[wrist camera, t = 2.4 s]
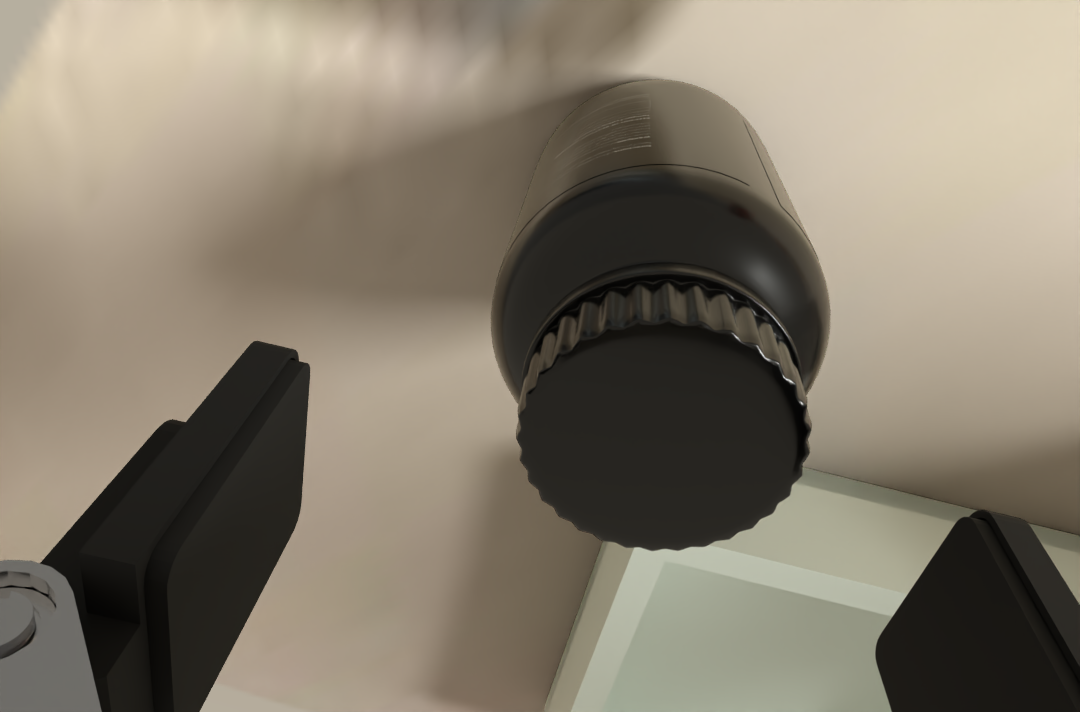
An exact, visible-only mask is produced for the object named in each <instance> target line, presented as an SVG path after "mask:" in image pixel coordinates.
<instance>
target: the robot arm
mask: <svg viewBox="0 0 1080 712" xmlns="http://www.w3.org/2000/svg"><path fill="white" fill-rule="evenodd" d="M309 381H310V366H309V364H308V363H304V362H299V357H298V352H297V351H296V350H294V349H290V348H285V347H281V346H277V345H273V344H268V343H264V342H260V341H254V342H253V343H252V344H251V345H250V346H249V347H248V348H247V349H246V350H245V352H244V353H243V354H242V355H241V356H240V358H239V359H238V360H237V361H236V362H235V364H234V365H233V366H232V367H231V368H230V370H229V371H228V372H227V373H226V374H225V376H224V377H223V378H222V379H221V381H220V382H219V383H218V384H217V385H216V387H215V388H214V389H213V390H212V391H211V393H210V394H209V395H208V396H207V397H206V399H205V400H204V401H203V402H202V403H201V405H200V406H199V407H198V408H197V410H196V411H195V412H194V413H193V414H192V416H191V417H190V418H189V419H188V420H187V422H181V421H177V420H173V419H172V420H169V421H166V422H164V423H163V424H162V425H161V426H160V427H159V428H158V429H157V430H156V431H155V432H154V433H153V434H152V436H151V437H150V438H149V439H148V440H147V441H146V442H145V444H144V445H143V446H142V447H141V448H140V449H139V450H138V452H137V453H136V454H135V455H134V456H133V457H132V458H131V460H130V461H129V462H128V463H127V464H126V465H125V467H124V468H123V469H122V470H121V471H120V472H119V473H118V475H117V476H116V477H115V478H114V479H113V480H112V481H111V483H110V484H109V485H108V486H107V487H106V488H105V489H104V491H103V492H102V493H101V494H100V495H99V496H98V498H97V499H96V500H95V501H94V502H93V503H92V504H91V506H90V507H89V508H88V509H87V510H86V511H85V512H84V514H83V515H82V516H81V517H80V518H79V519H78V520H77V522H76V523H75V524H74V525H73V526H72V527H71V529H70V530H69V531H68V532H67V533H66V534H65V535H64V537H63V538H62V539H61V540H60V541H59V542H58V543H57V545H56V546H55V547H54V548H53V549H52V550H51V552H50V553H49V554H48V555H47V556H46V557H45V558H44V560H43V561H42V562H41V563H37V562H33V561H22V560H4V561H0V712H199V711H200V710H201V708H202V706H203V704H204V702H205V700H206V698H207V696H208V694H209V692H210V690H211V688H212V687H213V685H214V683H215V681H216V679H217V677H218V675H219V673H220V671H221V669H222V667H223V665H224V664H225V662H226V660H227V658H228V656H229V654H230V652H231V650H232V648H233V646H234V644H235V642H236V640H237V639H238V637H239V635H240V633H241V631H242V629H243V627H244V625H245V623H246V621H247V619H248V617H249V616H250V614H251V612H252V610H253V608H254V606H255V604H256V602H257V600H258V598H259V596H260V594H261V592H262V591H263V589H264V587H265V585H266V583H267V581H268V579H269V577H270V575H271V573H272V571H273V569H274V568H275V566H276V564H277V562H278V560H279V558H280V556H281V554H282V552H283V550H284V548H285V546H286V544H287V543H288V541H289V539H290V537H291V535H292V533H293V531H294V529H295V526H296V524H297V521H298V517H299V514H300V509H301V499H302V484H303V470H304V455H305V440H306V425H307V411H308V396H309ZM875 659H876V663H877V667H878V670H879V673H880V676H881V679H882V683H883V686H884V689H885V692H886V695H887V698H888V701H889V704H890V708H891V711H892V712H1080V604H1079V603H1078V601H1077V600H1076V598H1075V596H1074V595H1073V593H1072V592H1071V590H1070V588H1069V587H1068V585H1067V584H1066V582H1065V580H1064V579H1063V577H1062V576H1061V574H1060V572H1059V571H1058V569H1057V568H1056V566H1055V564H1054V563H1053V561H1052V560H1051V558H1050V557H1049V555H1048V553H1047V552H1046V550H1045V549H1044V547H1043V545H1042V544H1041V542H1040V541H1039V539H1038V537H1037V536H1036V534H1035V533H1034V531H1033V529H1032V528H1031V526H1030V525H1029V524H1028V523H1027V522H1026V521H1024V520H1022V519H1020V518H1016V517H1012V516H1008V515H1003V514H999V513H995V512H990V511H986V510H977V511H976V512H974V513H972V514H971V515H970V516H969V517H962V518H960V519H959V520H958V521H957V522H956V523H955V525H954V526H953V528H952V529H951V531H950V532H949V534H948V535H947V537H946V538H945V540H944V541H943V543H942V544H941V545H940V547H939V548H938V550H937V551H936V553H935V554H934V556H933V557H932V559H931V560H930V562H929V563H928V565H927V566H926V568H925V569H924V571H923V572H922V574H921V575H920V577H919V578H918V580H917V581H916V583H915V584H914V585H913V587H912V588H911V590H910V591H909V593H908V594H907V596H906V597H905V599H904V600H903V602H902V603H901V605H900V606H899V608H898V609H897V611H896V612H895V614H894V615H893V617H892V618H891V620H890V621H889V623H888V624H887V625H886V627H885V628H884V630H883V631H882V633H881V634H880V636H879V638H878V640H877V644H876V650H875Z"/></svg>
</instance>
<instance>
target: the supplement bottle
mask: <svg viewBox="0 0 1080 712" xmlns="http://www.w3.org/2000/svg"><path fill="white" fill-rule="evenodd" d="M829 332H830V303H829V295H828V290H827V286H826V281H825V278H824V275H823V272H822V269H821V266H820V263H819V260H818V257H817V255H816V253H815V251H814V248H813V246H812V244H811V242H810V240H809V238H808V236H807V234H806V232H805V230H804V227H803V225H802V223H801V221H800V219H799V217H798V215H797V213H796V211H795V209H794V207H793V205H792V202H791V200H790V198H789V196H788V194H787V192H786V190H785V188H784V186H783V184H782V182H781V179H780V177H779V175H778V173H777V171H776V169H775V167H774V165H773V163H772V161H771V159H770V157H769V154H768V152H767V150H766V148H765V147H764V145H763V143H762V141H761V139H760V138H759V136H758V135H757V133H756V131H755V130H754V128H753V127H752V126H751V125H750V123H749V122H748V121H747V120H746V119H745V118H744V117H743V116H742V115H741V114H740V112H739V111H738V110H737V109H735V108H734V107H733V106H732V105H730V104H729V103H728V102H727V101H725V100H723V99H722V98H720V97H719V96H717V95H715V94H713V93H712V92H710V91H708V90H705V89H703V88H700V87H698V86H695V85H691V84H688V83H684V82H678V81H672V80H642V81H635V82H630V83H626V84H622V85H619V86H616V87H613V88H610V89H608V90H606V91H604V92H602V93H599V94H597V95H596V96H594V97H592V98H591V99H589V100H587V101H586V102H585V103H583V104H582V105H580V106H579V107H578V108H577V109H575V110H574V111H573V112H572V113H571V114H570V115H569V116H568V117H567V118H566V119H565V120H564V121H563V122H562V123H561V125H560V126H559V127H558V128H557V130H556V131H555V133H554V134H553V135H552V137H551V138H550V140H549V142H548V143H547V145H546V147H545V149H544V151H543V153H542V155H541V157H540V160H539V162H538V165H537V167H536V169H535V172H534V175H533V178H532V181H531V184H530V186H529V189H528V192H527V195H526V198H525V200H524V203H523V206H522V209H521V212H520V215H519V217H518V220H517V223H516V226H515V229H514V231H513V234H512V237H511V240H510V243H509V246H508V248H507V251H506V254H505V257H504V260H503V263H502V266H501V269H500V271H499V275H498V278H497V282H496V287H495V291H494V296H493V301H492V310H491V333H492V342H493V348H494V352H495V357H496V361H497V363H498V366H499V369H500V372H501V374H502V377H503V379H504V381H505V383H506V385H507V387H508V389H509V391H510V392H511V394H512V396H513V397H514V399H515V400H516V402H517V403H518V418H519V420H518V424H517V429H516V439H517V441H518V443H519V445H520V447H521V448H520V461H521V463H522V464H523V465H524V467H525V468H526V469H527V470H528V480H529V482H530V483H531V484H532V485H533V486H534V487H536V488H537V489H538V490H539V494H540V497H541V499H542V501H544V502H545V503H547V504H549V505H550V506H552V507H553V508H554V509H555V511H556V513H557V514H558V516H559V517H561V518H563V519H565V520H568V521H571V522H572V523H573V524H574V525H575V527H576V528H577V529H578V530H580V531H583V532H587V533H591V534H593V535H595V536H596V537H597V538H598V539H600V540H601V541H606V542H615V543H617V544H619V545H621V546H623V547H625V548H636V547H640V548H643V549H646V550H650V551H657V550H661V549H669V550H675V551H680V550H683V549H686V548H689V547H706V546H708V545H710V544H712V543H713V542H715V541H723V540H730V539H731V538H732V537H734V536H735V535H736V534H737V533H738V532H741V531H745V530H749V529H752V528H753V527H754V526H755V525H756V524H757V523H758V522H759V520H760V519H762V518H765V517H767V516H769V515H771V514H773V513H774V511H775V509H776V507H777V505H778V503H780V502H782V501H783V500H785V499H786V498H788V497H789V496H790V494H791V488H792V485H793V484H794V483H795V482H796V481H798V479H799V478H800V477H801V476H802V473H803V466H802V464H803V462H804V461H805V460H806V458H807V457H808V455H809V454H810V446H809V442H808V438H809V435H810V432H811V429H812V424H811V420H810V416H809V413H808V410H807V397H806V395H807V394H808V392H809V391H810V389H811V387H812V385H813V383H814V381H815V379H816V377H817V375H818V373H819V371H820V368H821V365H822V363H823V360H824V357H825V353H826V349H827V345H828V339H829Z"/></svg>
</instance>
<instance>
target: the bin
mask: <svg viewBox="0 0 1080 712" xmlns="http://www.w3.org/2000/svg"><path fill="white" fill-rule="evenodd" d="M976 511H977V510H973V509H969V508H965V507H961V506H957V505H953V504H949V503H945V502H941V501H937V500H933V499H929V498H925V497H921V496H917V495H913V494H909V493H905V492H901V491H897V490H893V489H889V488H885V487H881V486H877V485H873V484H869V483H864V482H860V481H856V480H852V479H848V478H844V477H840V476H836V475H832V474H828V473H824V472H820V471H816V470H812V469H808V468H804V467H803V473H802V476H801V477H800V478H799V479H798V481H796V482H795V483H794V484H793V485H792V488H791V494H790V496H789V497H788V498H786V499H785V500H783V501H782V502H780V503H778V505H777V507H776V509H775V511H774V513H773V514H771V515H769V516H767V517H765V518H762V519H760V520H759V522H758V523H757V524H756V525H755V526H754V527H753V528H752V529H749V530H745V531H741V532H738V533H737V534H736V535H735V536H734V537H732V538H731V539H730V540H723V541H715V542H713V543H712V544H710V545H708V546H706V547H689V548H686V549H683V550H680V551H675V550H669V549H661V550H657V551H650V550H646V549H643V548H640V547H636V548H625V547H623V546H621V545H619V544H617V543H615V542H606V541H603V542H602V545H601V548H600V551H599V554H598V557H597V559H596V562H595V565H594V568H593V571H592V573H591V576H590V579H589V582H588V585H587V588H586V590H585V593H584V596H583V599H582V602H581V604H580V607H579V610H578V613H577V616H576V619H575V621H574V624H573V627H572V630H571V633H570V635H569V638H568V641H567V644H566V647H565V650H564V652H563V655H562V658H561V661H560V664H559V666H558V669H557V672H556V675H555V678H554V681H553V683H552V686H551V689H550V692H549V695H548V698H547V700H546V703H545V709H544V712H892V711H891V708H890V704H889V701H888V698H887V695H886V692H885V689H884V686H883V683H882V679H881V676H880V673H879V670H878V667H877V663H876V659H875V650H876V644H877V640H878V638H879V636H880V634H881V633H882V631H883V630H884V628H885V627H886V625H887V624H888V623H889V621H890V620H891V618H892V617H893V615H894V614H895V612H896V611H897V609H898V608H899V606H900V605H901V603H902V602H903V600H904V599H905V597H906V596H907V594H908V593H909V591H910V590H911V588H912V587H913V585H914V584H915V583H916V581H917V580H918V578H919V577H920V575H921V574H922V572H923V571H924V569H925V568H926V566H927V565H928V563H929V562H930V560H931V559H932V557H933V556H934V554H935V553H936V551H937V550H938V548H939V547H940V545H941V544H942V543H943V541H944V540H945V538H946V537H947V535H948V534H949V532H950V531H951V529H952V528H953V526H954V525H955V523H956V522H957V521H958V520H959V519H960V518H962V517H969V516H970V515H971V514H972V513H974V512H976ZM1028 524H1029V525H1030V526H1031V528H1032V529H1033V531H1034V533H1035V534H1036V536H1037V537H1038V539H1039V541H1040V542H1041V544H1042V545H1043V547H1044V549H1045V550H1046V552H1047V553H1048V555H1049V557H1050V558H1051V560H1052V561H1053V563H1054V564H1055V566H1056V568H1057V569H1058V571H1059V572H1060V574H1061V576H1062V577H1063V579H1064V580H1065V582H1066V584H1067V585H1068V587H1069V588H1070V590H1071V592H1072V593H1073V595H1074V596H1075V598H1076V600H1077V601H1078V603H1079V604H1080V536H1078V535H1074V534H1070V533H1066V532H1062V531H1058V530H1054V529H1050V528H1046V527H1042V526H1038V525H1034V524H1030V523H1028Z"/></svg>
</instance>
